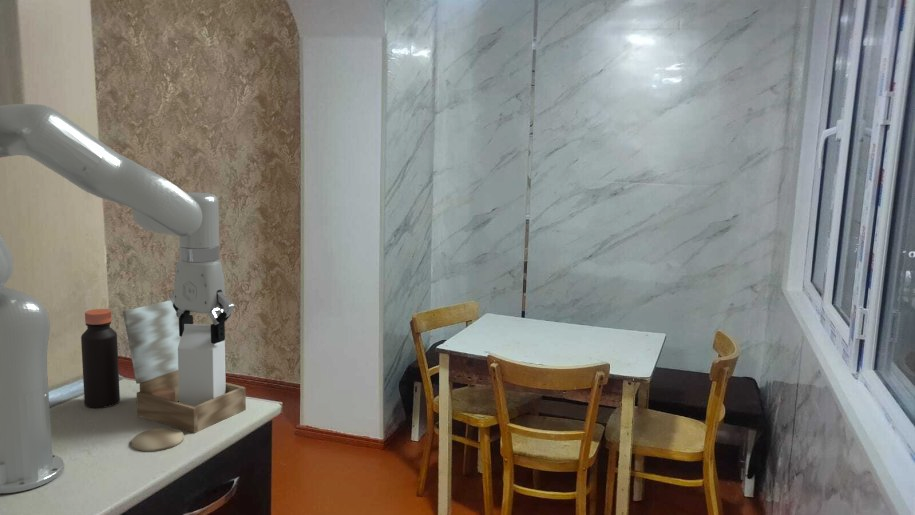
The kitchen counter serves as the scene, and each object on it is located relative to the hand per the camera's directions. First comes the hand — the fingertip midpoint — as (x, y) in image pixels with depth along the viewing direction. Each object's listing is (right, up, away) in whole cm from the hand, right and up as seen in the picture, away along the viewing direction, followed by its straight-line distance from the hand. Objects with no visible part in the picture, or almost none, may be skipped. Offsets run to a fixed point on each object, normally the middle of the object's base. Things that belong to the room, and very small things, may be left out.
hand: (202, 338), depth 143 cm
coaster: (-4, -18, -11) cm, 22 cm away
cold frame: (-4, -16, +3) cm, 17 cm away
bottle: (-24, -15, +6) cm, 28 cm away
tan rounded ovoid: (-8, -16, +1) cm, 18 cm away
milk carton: (-1, -16, +3) cm, 16 cm away
